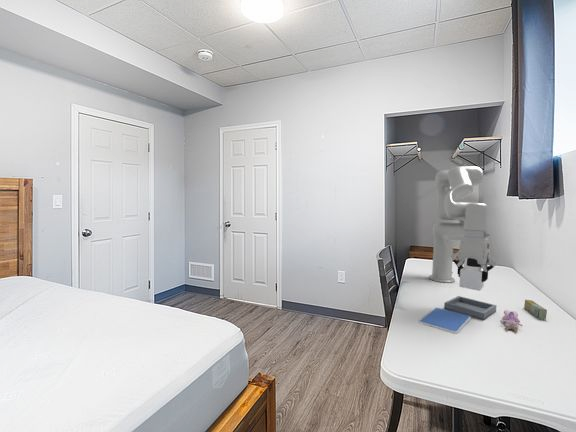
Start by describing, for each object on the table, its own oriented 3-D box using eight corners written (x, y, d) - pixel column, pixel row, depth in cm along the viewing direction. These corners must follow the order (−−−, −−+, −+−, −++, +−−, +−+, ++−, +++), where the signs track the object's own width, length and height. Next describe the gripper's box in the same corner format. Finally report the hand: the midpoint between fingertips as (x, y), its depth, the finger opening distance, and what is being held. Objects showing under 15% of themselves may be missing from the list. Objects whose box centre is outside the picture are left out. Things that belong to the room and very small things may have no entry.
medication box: (546, 320, 111) (547, 310, 111) (537, 319, 112) (538, 309, 112) (531, 309, 123) (532, 299, 122) (523, 308, 123) (524, 298, 123)
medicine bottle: (483, 287, 119) (485, 257, 118) (480, 291, 114) (482, 259, 113) (463, 283, 124) (465, 254, 123) (459, 286, 119) (460, 257, 118)
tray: (458, 301, 129) (458, 295, 129) (496, 311, 119) (496, 305, 118) (444, 308, 120) (444, 302, 120) (483, 320, 110) (484, 313, 109)
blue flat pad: (456, 336, 97) (457, 332, 97) (417, 324, 106) (417, 320, 106) (471, 319, 111) (471, 316, 111) (435, 310, 120) (435, 306, 120)
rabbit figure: (522, 338, 99) (520, 317, 111) (524, 322, 97) (522, 302, 109) (499, 333, 102) (500, 313, 114) (500, 317, 101) (501, 298, 113)
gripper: (503, 236, 113) (500, 282, 114) (454, 231, 127) (452, 273, 128) (497, 237, 108) (494, 285, 109) (447, 232, 122) (444, 275, 123)
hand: (471, 278), depth 119 cm, fingers closed on medicine bottle, 7 cm apart
